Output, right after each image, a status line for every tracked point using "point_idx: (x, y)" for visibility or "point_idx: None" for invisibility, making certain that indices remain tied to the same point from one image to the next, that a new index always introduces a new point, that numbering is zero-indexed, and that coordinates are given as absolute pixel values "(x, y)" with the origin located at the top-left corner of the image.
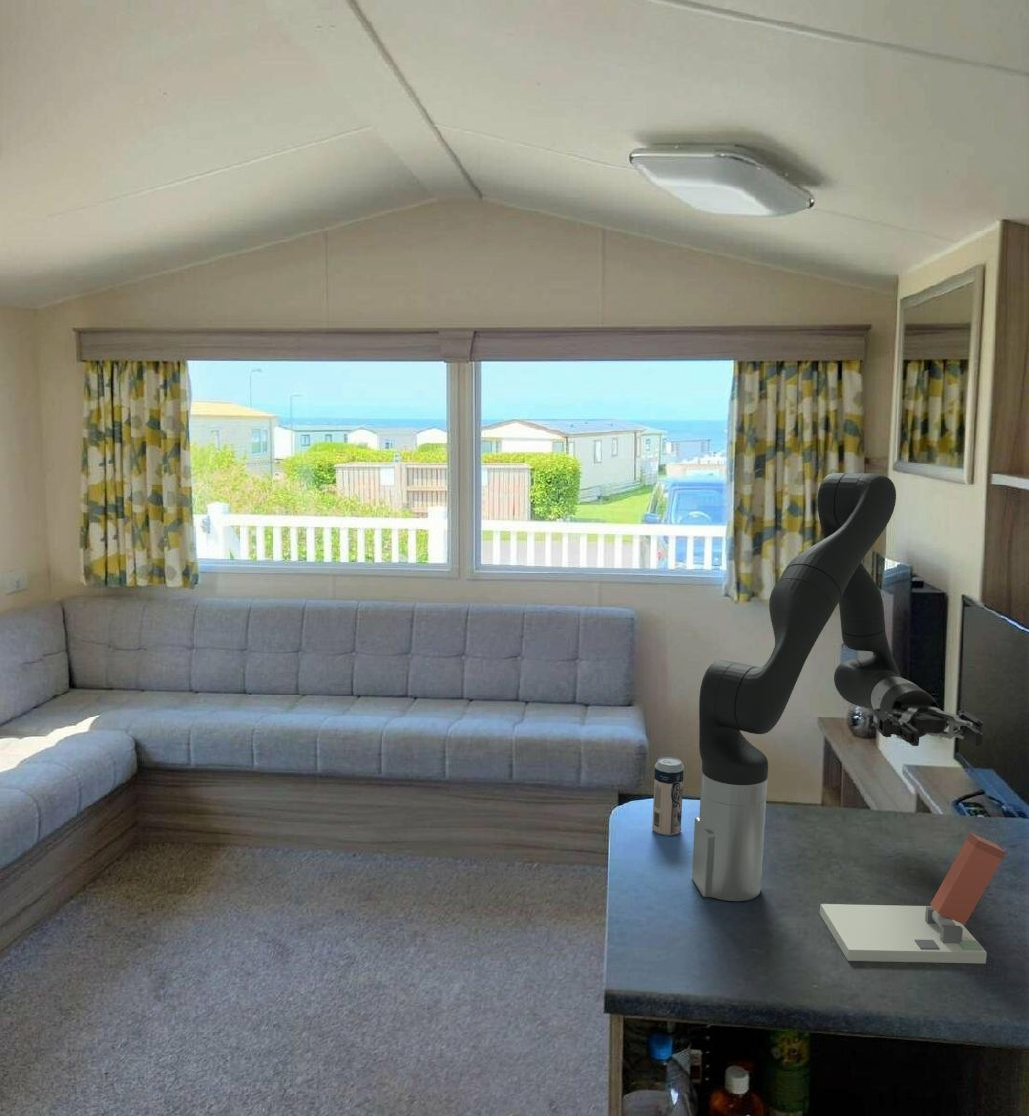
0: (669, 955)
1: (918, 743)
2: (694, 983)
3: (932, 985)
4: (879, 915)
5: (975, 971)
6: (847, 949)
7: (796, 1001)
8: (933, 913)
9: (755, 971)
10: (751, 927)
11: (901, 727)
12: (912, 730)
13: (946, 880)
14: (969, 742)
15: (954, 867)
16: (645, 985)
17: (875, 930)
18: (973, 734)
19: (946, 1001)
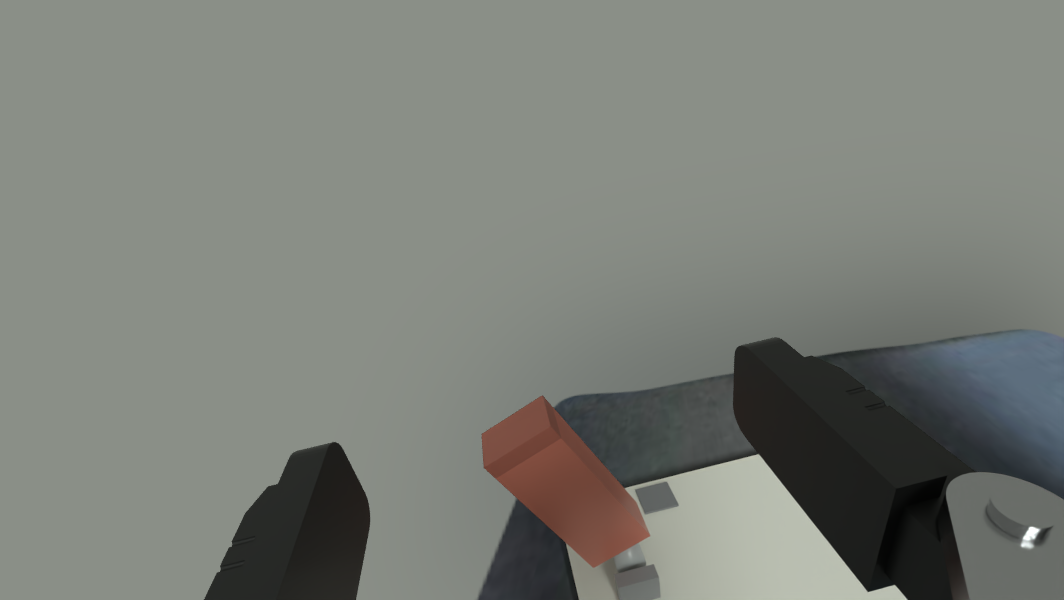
0: (1058, 398)
1: (735, 401)
2: (956, 359)
3: (648, 441)
4: (764, 591)
5: None
6: None
7: None
8: (643, 555)
9: (900, 401)
10: None
11: (945, 452)
12: (796, 355)
13: (615, 491)
14: (351, 585)
15: (596, 469)
16: (1010, 340)
17: (756, 522)
18: (333, 480)
19: (632, 416)
